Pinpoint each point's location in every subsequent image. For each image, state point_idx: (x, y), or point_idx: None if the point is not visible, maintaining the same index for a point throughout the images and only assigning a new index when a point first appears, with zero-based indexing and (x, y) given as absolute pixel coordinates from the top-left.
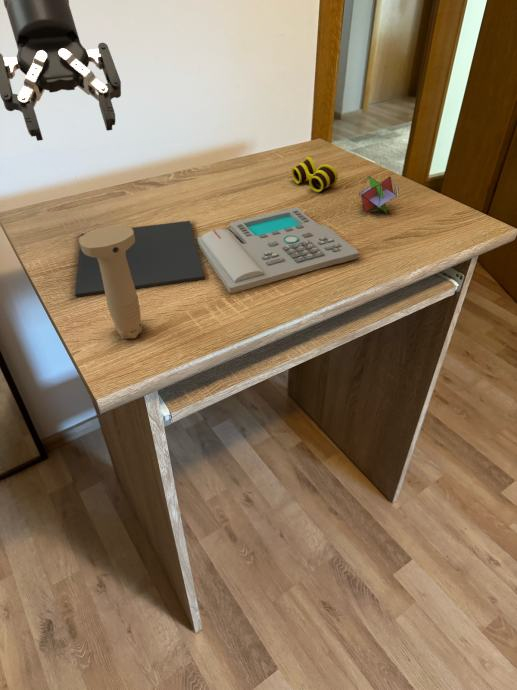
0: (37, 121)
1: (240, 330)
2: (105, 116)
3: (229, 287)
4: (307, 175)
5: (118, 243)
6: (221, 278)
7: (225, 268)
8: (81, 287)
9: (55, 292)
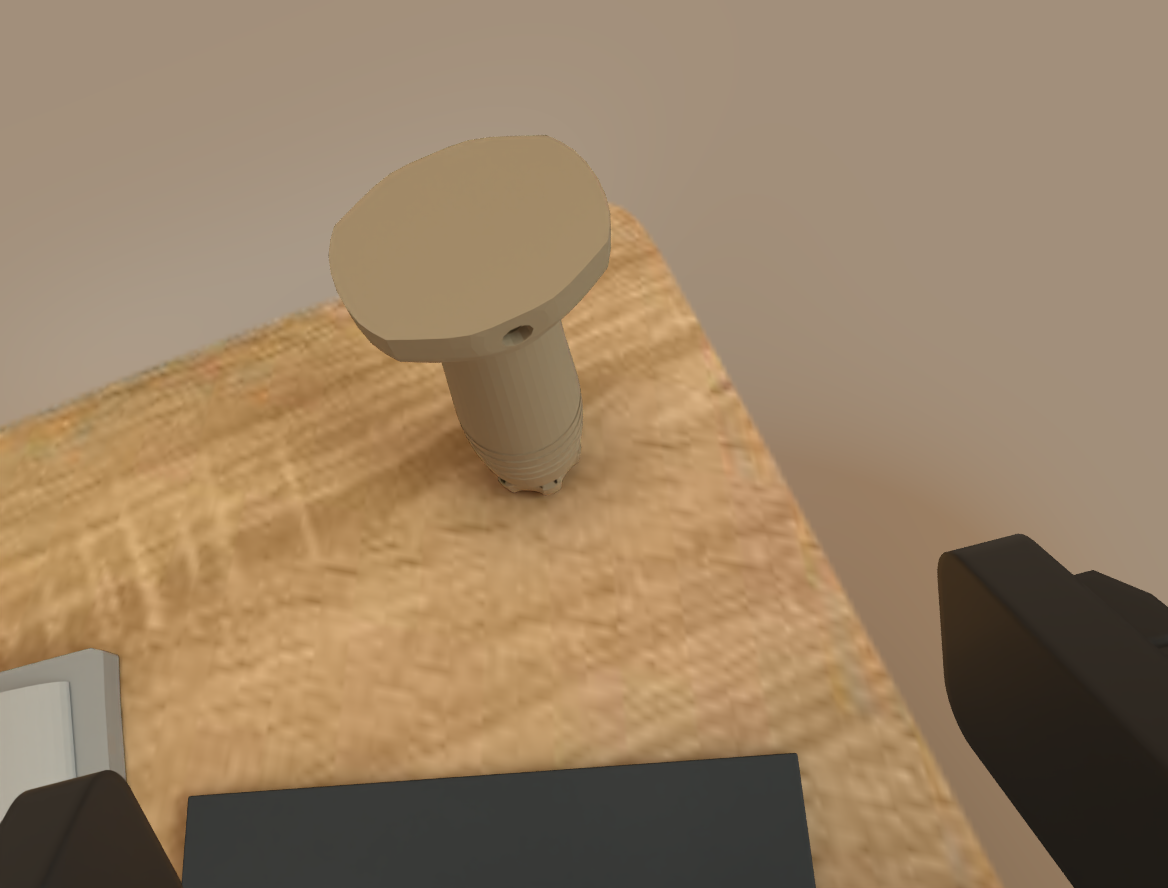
0: (1012, 611)
1: (149, 414)
2: (62, 810)
3: (102, 651)
4: None
5: (410, 165)
6: (117, 761)
7: None
8: (775, 808)
9: (904, 821)
